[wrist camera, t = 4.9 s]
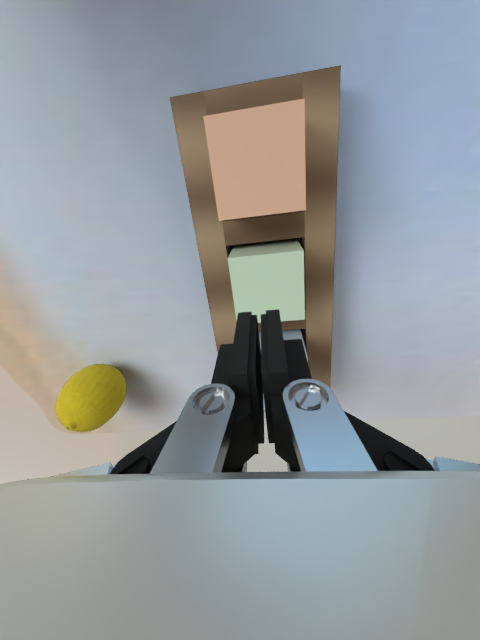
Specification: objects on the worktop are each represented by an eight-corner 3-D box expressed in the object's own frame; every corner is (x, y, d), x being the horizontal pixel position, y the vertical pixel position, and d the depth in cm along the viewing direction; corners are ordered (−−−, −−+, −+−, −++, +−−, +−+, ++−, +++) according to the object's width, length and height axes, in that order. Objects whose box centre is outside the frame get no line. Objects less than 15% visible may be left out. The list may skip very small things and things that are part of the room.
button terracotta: (218, 134, 18) (203, 116, 13) (294, 121, 17) (304, 98, 13) (228, 213, 20) (218, 220, 16) (296, 204, 19) (305, 210, 15)
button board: (183, 110, 19) (169, 97, 16) (329, 84, 18) (340, 65, 15) (230, 379, 29) (226, 399, 27) (323, 375, 28) (329, 395, 25)
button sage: (234, 244, 22) (227, 258, 18) (295, 237, 22) (303, 250, 17) (241, 299, 24) (237, 324, 20) (297, 294, 24) (304, 319, 19)
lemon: (80, 363, 30) (22, 418, 23) (113, 341, 28) (62, 393, 21) (115, 396, 32) (72, 456, 25) (148, 377, 30) (112, 436, 23)
